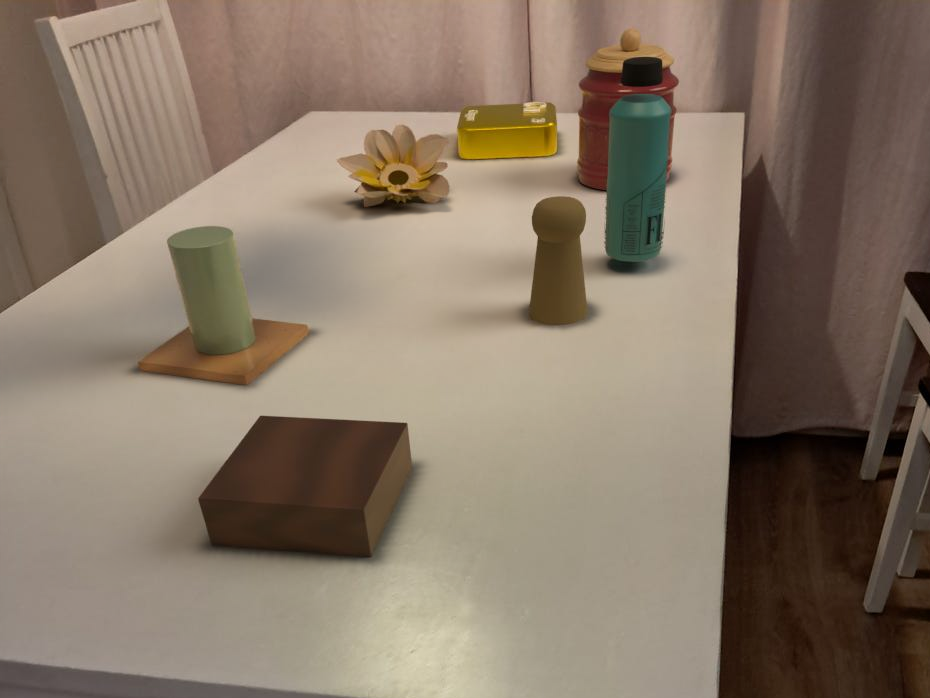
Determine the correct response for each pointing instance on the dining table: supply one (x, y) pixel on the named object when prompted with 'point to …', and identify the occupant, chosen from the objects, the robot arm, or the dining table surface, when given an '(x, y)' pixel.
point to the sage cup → (212, 289)
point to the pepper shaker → (558, 262)
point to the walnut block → (309, 485)
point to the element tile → (507, 131)
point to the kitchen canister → (604, 93)
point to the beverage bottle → (637, 165)
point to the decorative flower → (399, 167)
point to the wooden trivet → (227, 368)
